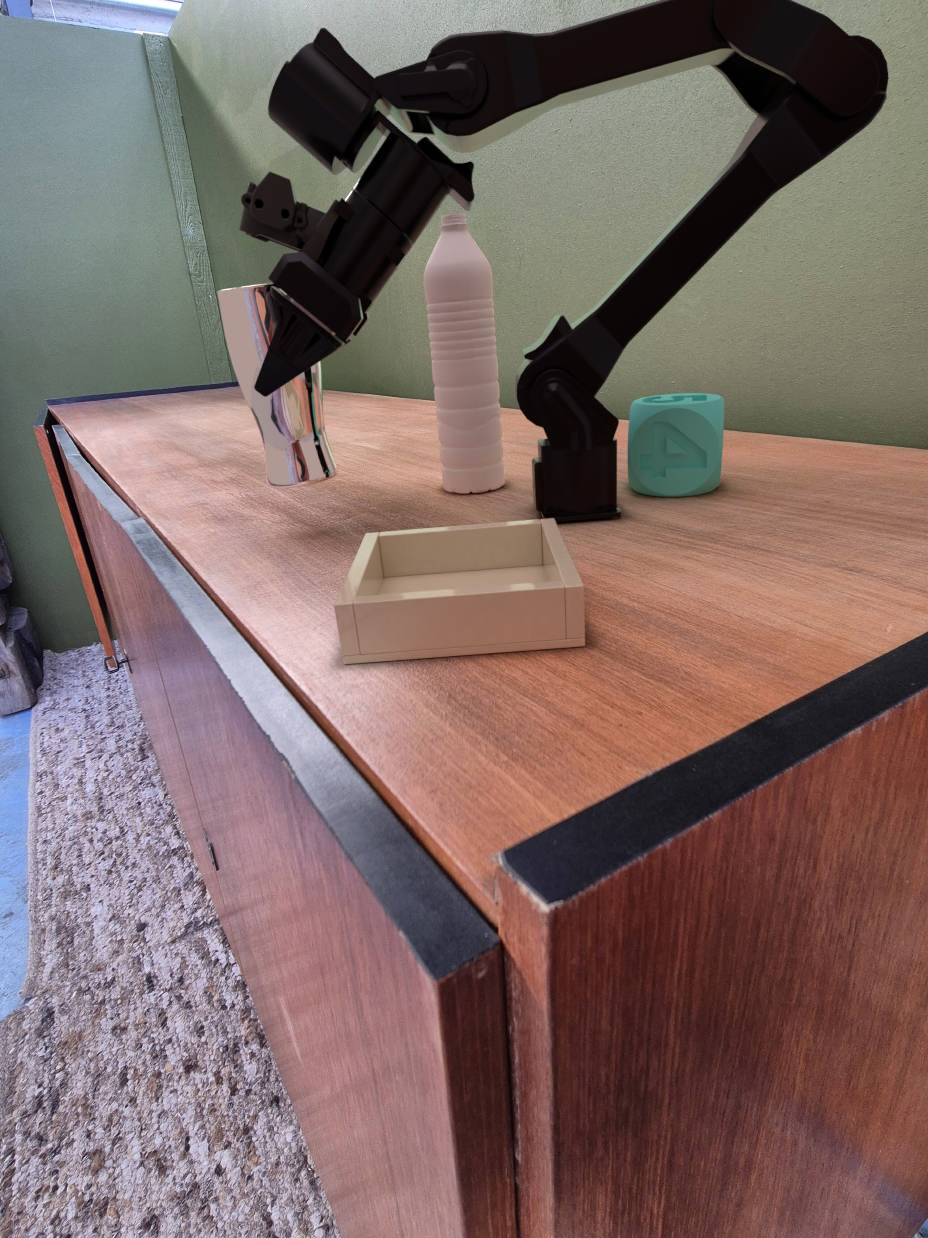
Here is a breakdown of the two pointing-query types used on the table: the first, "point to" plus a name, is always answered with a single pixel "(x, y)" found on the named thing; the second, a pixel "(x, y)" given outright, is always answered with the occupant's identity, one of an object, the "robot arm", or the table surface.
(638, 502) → the table surface
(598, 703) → the table surface
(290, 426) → the silver metal tumbler
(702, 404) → the decorative dice
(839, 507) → the table surface
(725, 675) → the table surface
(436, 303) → the water bottle
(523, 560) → the tray
